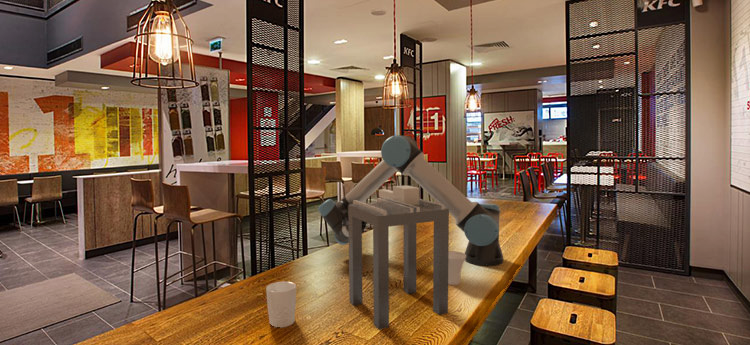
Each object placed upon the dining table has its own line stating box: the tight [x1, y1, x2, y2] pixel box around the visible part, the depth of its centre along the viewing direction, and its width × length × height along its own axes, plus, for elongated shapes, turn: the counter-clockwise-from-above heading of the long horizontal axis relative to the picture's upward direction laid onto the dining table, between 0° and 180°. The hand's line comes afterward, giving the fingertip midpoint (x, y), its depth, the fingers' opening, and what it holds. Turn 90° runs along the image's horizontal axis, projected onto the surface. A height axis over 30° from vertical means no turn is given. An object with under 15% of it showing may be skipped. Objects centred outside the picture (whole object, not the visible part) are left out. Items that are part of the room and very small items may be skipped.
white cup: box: [265, 281, 297, 328], centre depth 110 cm, size 8×8×10 cm
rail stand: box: [348, 197, 450, 330], centre depth 118 cm, size 20×22×31 cm
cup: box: [448, 250, 466, 286], centre depth 139 cm, size 9×9×10 cm
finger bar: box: [378, 184, 420, 205], centre depth 127 cm, size 19×5×5 cm, turn 26°
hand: (374, 206), depth 142 cm, fingers open, 13 cm apart
